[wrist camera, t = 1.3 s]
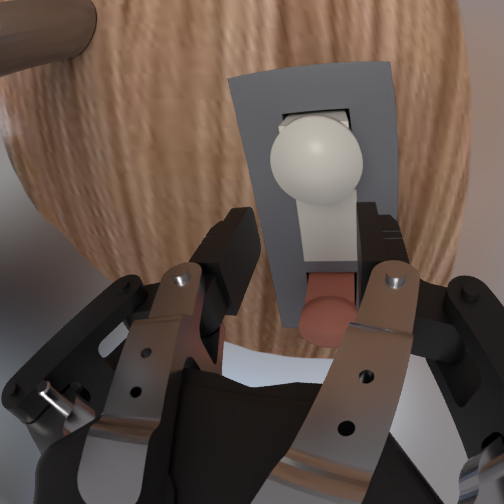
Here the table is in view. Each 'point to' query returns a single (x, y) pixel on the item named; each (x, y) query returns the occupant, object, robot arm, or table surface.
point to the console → (308, 215)
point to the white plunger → (316, 156)
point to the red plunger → (328, 308)
